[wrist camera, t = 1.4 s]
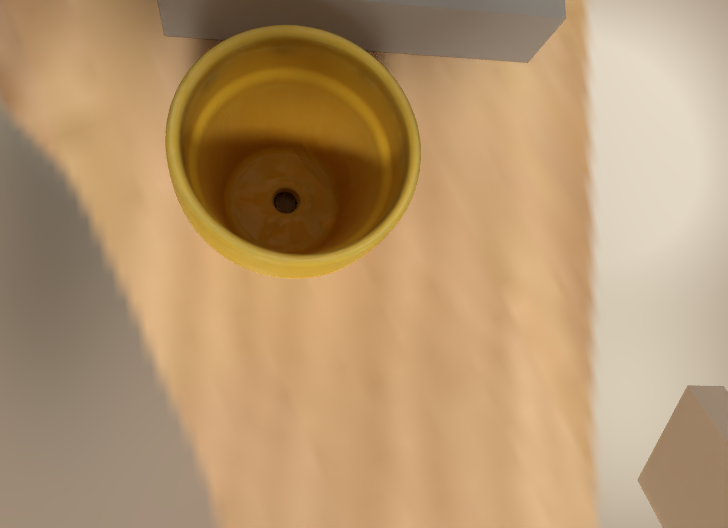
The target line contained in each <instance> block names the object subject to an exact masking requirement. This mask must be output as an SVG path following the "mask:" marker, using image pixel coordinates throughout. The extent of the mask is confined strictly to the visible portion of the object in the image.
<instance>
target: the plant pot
mask: <svg viewBox="0 0 728 528" xmlns="http://www.w3.org/2000/svg"><path fill="white" fill-rule="evenodd" d="M165 141H166V155H167V162H168V168H169V172H170V177H171V180H172V183H173V187H174V190H175V193H176V195H177V198H178V200H179V203H180V205H181V207H182V209H183V211H184V213H185V215H186V216H187V218H188V220H189V221H190V223H191V224H192V226H193V227H194V229H195V230H196V231H197V232H198V233H199V235H200V236H201V237H202V238H203V239H204V240H205V241H206V242H207V243H208V244H209V245H210V246H211V247H212V248H213V249H215V250H216V251H217V252H218V253H220V254H221V255H223V256H224V257H225V258H227V259H229V260H230V261H232V262H234V263H235V264H237V265H239V266H241V267H244V268H246V269H248V270H251V271H253V272H257V273H260V274H264V275H268V276H273V277H280V278H309V277H317V276H321V275H325V274H329V273H332V272H335V271H338V270H340V269H342V268H344V267H346V266H348V265H350V264H352V263H354V262H355V261H357V260H358V259H360V258H361V257H363V256H364V255H365V254H367V253H368V252H369V251H371V250H372V249H373V248H374V247H375V246H376V245H378V244H379V243H380V242H381V241H382V240H383V239H384V238H385V237H386V236H387V234H388V233H389V232H390V231H391V230H392V229H393V228H394V226H395V225H396V224H397V223H398V221H399V220H400V219H401V217H402V216H403V214H404V213H405V211H406V209H407V207H408V205H409V203H410V201H411V199H412V196H413V194H414V191H415V188H416V185H417V181H418V176H419V171H420V161H421V144H420V137H419V131H418V126H417V122H416V119H415V116H414V113H413V111H412V108H411V106H410V103H409V101H408V99H407V97H406V95H405V94H404V92H403V90H402V89H401V87H400V86H399V84H398V83H397V81H396V80H395V79H394V77H393V76H392V75H391V74H390V73H389V71H388V70H387V69H386V68H385V67H384V66H383V65H382V64H381V63H380V62H379V61H378V60H376V59H375V58H374V57H373V56H372V55H371V54H369V53H368V52H367V51H365V50H364V49H362V48H361V47H359V46H357V45H356V44H354V43H352V42H350V41H348V40H347V39H345V38H343V37H341V36H338V35H336V34H333V33H330V32H327V31H324V30H320V29H316V28H312V27H305V26H298V25H275V26H267V27H261V28H256V29H252V30H249V31H245V32H242V33H240V34H237V35H235V36H232V37H230V38H228V39H226V40H224V41H223V42H221V43H219V44H218V45H216V46H214V47H213V48H212V49H210V50H209V51H207V52H206V53H205V54H204V55H203V56H202V57H201V58H200V59H199V60H198V61H197V62H196V63H195V64H194V65H193V66H192V67H191V69H190V70H189V71H188V72H187V74H186V75H185V77H184V78H183V80H182V81H181V83H180V85H179V87H178V89H177V91H176V93H175V95H174V98H173V100H172V103H171V106H170V110H169V114H168V118H167V125H166V139H165ZM280 192H288V193H291V194H292V195H294V196H295V198H296V200H297V203H298V204H297V208H296V209H295V210H294V211H293V212H291V213H282V212H280V211H278V210H277V209H276V208H275V206H274V198H275V196H276V195H277V194H278V193H280Z"/></svg>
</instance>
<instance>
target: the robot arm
mask: <svg viewBox="0 0 728 528" xmlns="http://www.w3.org/2000/svg"><path fill="white" fill-rule="evenodd" d="M638 482H639V484H640V486H641V487H642V489H643V491H644V493H645V495H646V497H647V499H648V500H649V502H650V504H651V506H652V508H653V510H654V512H655V514H656V516H657V518H658V519H659V521H660V523H661V525H662V527H663V528H728V391H727V390H726V389H725V388H724V387H723V386H687V388H686V390H685V391H684V393H683V395H682V397H681V399H680V401H679V403H678V405H677V406H676V408H675V410H674V412H673V414H672V416H671V418H670V420H669V422H668V423H667V425H666V427H665V429H664V431H663V433H662V435H661V437H660V439H659V440H658V442H657V444H656V446H655V448H654V450H653V452H652V454H651V455H650V458H649V459H648V461H647V463H646V465H645V467H644V469H643V471H642V472H641V474H640V476H639V478H638Z"/></svg>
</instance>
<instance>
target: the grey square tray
mask: <svg viewBox="0 0 728 528" xmlns="http://www.w3.org/2000/svg"><path fill="white" fill-rule="evenodd" d="M157 1H158V6H159V11H160V16H161V20H162V25H163V30H164V35H165V36H173V37H187V38H200V39H214V40H226V39H228V38H230V37H232V36H235V35H237V34H240V33H242V32H245V31H249V30H252V29H256V28H261V27H267V26H275V25H298V26H305V27H312V28H316V29H320V30H324V31H327V32H330V33H333V34H336V35H338V36H341V37H343V38H345V39H347V40H348V41H350V42H352V43H354V44H356V45H357V46H359V47H361V48H362V49H364V50H365V51H377V52H390V53H404V54H417V55H431V56H445V57H458V58H472V59H485V60H499V61H512V62H526V63H528V62H529V61H530V60H531V58H532V57H533V56H534V55H535V54H536V53H537V51H538V50H539V49H540V48H541V47H542V46H543V45H544V43H545V42H546V41H547V40H548V39H549V38H550V36H551V35H552V34H553V33H554V32H555V31H556V30H557V28H558V27H559V26H560V25H561V24H562V23H563V21H564V20H565V19H566V11H565V0H157Z"/></svg>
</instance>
